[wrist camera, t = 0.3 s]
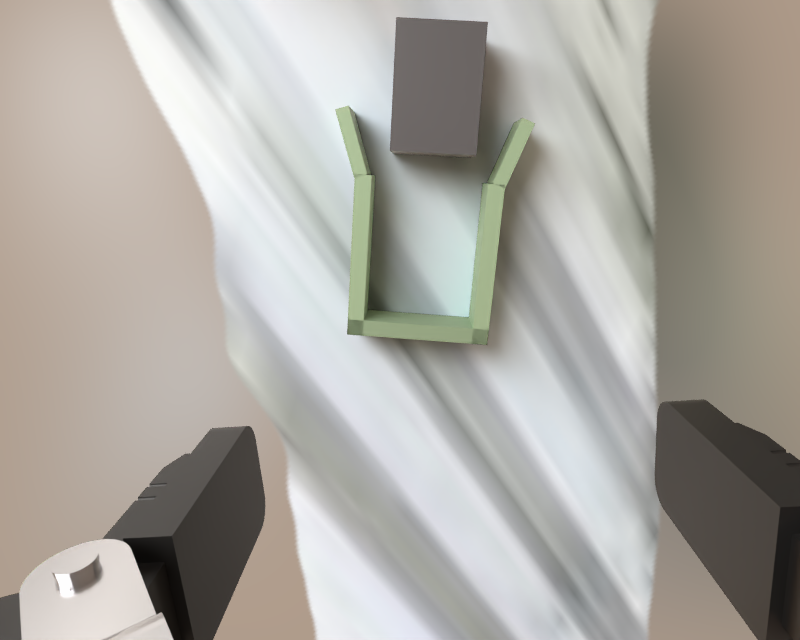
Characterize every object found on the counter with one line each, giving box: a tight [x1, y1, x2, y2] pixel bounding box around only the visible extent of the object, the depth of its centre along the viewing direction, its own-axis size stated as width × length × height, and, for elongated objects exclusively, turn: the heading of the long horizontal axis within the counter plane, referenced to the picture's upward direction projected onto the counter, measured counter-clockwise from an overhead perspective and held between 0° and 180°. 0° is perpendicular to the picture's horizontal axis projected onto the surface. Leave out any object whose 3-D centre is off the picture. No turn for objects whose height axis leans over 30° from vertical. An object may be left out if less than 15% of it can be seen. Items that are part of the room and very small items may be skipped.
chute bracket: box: [335, 106, 535, 345], centre depth 36 cm, size 14×12×3 cm
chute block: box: [390, 17, 488, 158], centre depth 33 cm, size 7×5×4 cm
